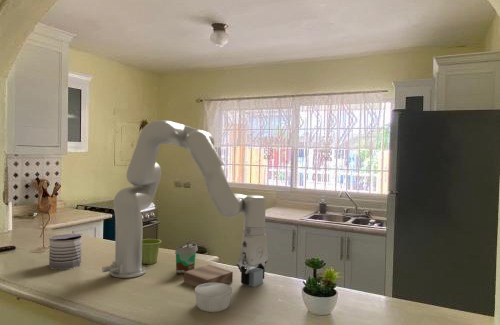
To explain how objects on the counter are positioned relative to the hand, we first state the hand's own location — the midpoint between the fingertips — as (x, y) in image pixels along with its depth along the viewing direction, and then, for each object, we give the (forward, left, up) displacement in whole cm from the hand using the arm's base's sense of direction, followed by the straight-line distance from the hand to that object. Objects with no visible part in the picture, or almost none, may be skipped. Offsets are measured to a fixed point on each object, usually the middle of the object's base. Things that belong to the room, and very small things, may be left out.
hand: (252, 280), depth 131 cm
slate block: (0, 0, -1) cm, 1 cm away
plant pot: (-11, +46, -1) cm, 47 cm away
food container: (-7, +26, -1) cm, 27 cm away
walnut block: (-10, +12, -1) cm, 16 cm away
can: (-36, +65, -1) cm, 74 cm away
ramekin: (-23, -4, -1) cm, 23 cm away
